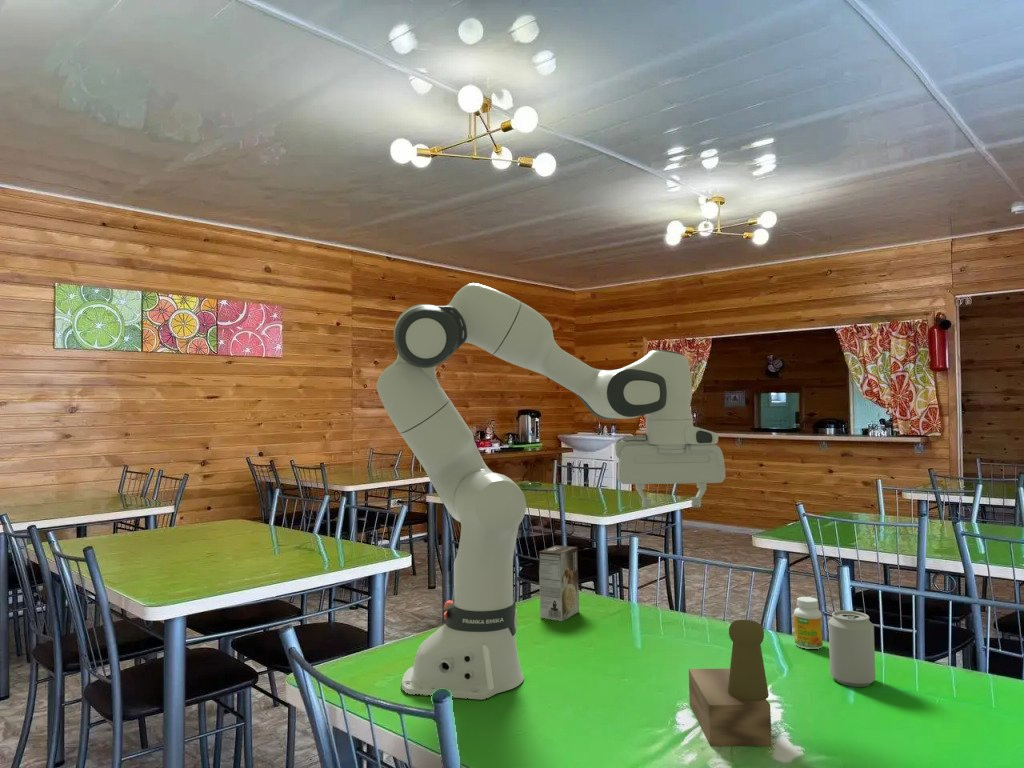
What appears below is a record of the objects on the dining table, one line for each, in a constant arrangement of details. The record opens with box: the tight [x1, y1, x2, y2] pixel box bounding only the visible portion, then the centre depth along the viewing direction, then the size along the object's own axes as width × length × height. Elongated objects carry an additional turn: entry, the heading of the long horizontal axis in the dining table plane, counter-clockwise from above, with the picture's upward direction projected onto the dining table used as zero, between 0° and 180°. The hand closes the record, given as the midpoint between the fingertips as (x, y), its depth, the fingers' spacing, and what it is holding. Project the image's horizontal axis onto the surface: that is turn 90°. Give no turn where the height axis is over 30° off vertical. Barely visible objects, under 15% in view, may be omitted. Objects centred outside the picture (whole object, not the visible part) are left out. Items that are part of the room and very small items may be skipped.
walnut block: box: [688, 668, 772, 747], centre depth 116 cm, size 9×15×6 cm, turn 178°
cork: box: [728, 619, 769, 701], centre depth 113 cm, size 6×6×11 cm
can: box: [827, 610, 876, 688], centre depth 133 cm, size 8×8×12 cm
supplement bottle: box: [793, 596, 824, 650], centre depth 152 cm, size 5×5×10 cm
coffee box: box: [538, 545, 580, 622], centre depth 178 cm, size 9×6×16 cm
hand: (671, 507), depth 140 cm, fingers open, 8 cm apart
